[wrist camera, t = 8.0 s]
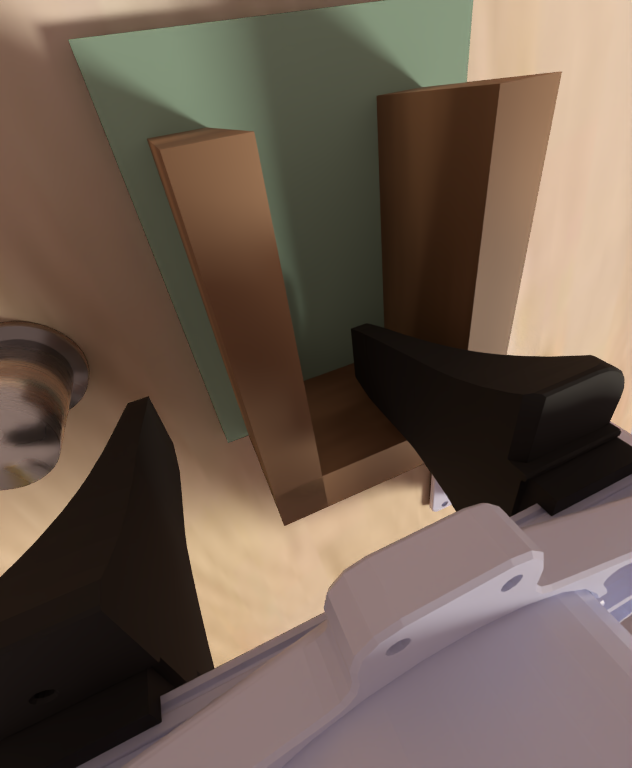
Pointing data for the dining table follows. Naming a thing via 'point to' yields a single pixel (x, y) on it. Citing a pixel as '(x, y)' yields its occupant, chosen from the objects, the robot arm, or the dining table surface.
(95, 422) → the dining table surface
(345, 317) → the green rubber mat
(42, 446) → the metal door knob
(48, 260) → the dining table surface
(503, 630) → the robot arm
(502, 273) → the walnut C-link
